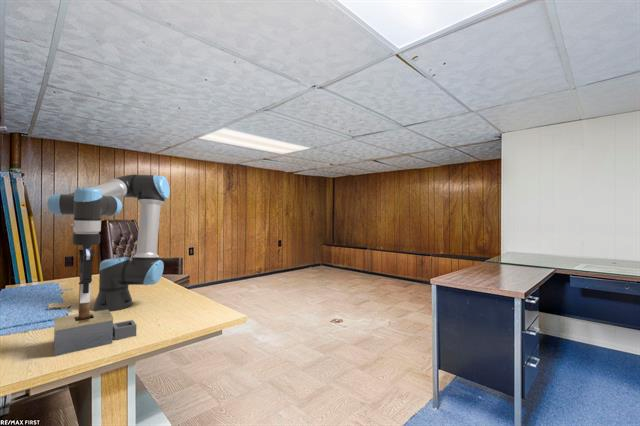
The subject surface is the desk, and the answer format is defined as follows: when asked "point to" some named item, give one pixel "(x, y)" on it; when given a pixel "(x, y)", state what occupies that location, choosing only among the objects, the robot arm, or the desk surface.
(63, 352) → the hollow box
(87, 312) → the brown rounded rod
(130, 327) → the holder
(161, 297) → the desk surface
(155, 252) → the robot arm
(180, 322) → the desk surface
